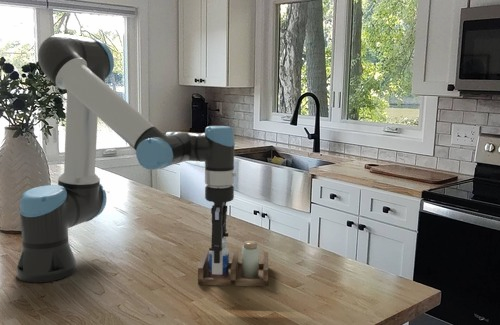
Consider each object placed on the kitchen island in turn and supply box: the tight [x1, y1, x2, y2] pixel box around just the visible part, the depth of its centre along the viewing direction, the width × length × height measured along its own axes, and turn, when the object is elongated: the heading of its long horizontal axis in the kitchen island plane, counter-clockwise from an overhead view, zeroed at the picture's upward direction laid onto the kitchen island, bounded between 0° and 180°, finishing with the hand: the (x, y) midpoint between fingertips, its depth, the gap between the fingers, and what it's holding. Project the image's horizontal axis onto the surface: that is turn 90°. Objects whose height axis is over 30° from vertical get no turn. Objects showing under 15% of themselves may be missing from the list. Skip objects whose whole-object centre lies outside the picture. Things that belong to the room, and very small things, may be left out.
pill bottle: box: [208, 238, 230, 278], centre depth 130 cm, size 6×5×10 cm
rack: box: [197, 250, 269, 287], centre depth 130 cm, size 18×13×6 cm
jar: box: [241, 240, 260, 279], centre depth 130 cm, size 5×5×9 cm
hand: (219, 266), depth 130 cm, fingers open, 9 cm apart
